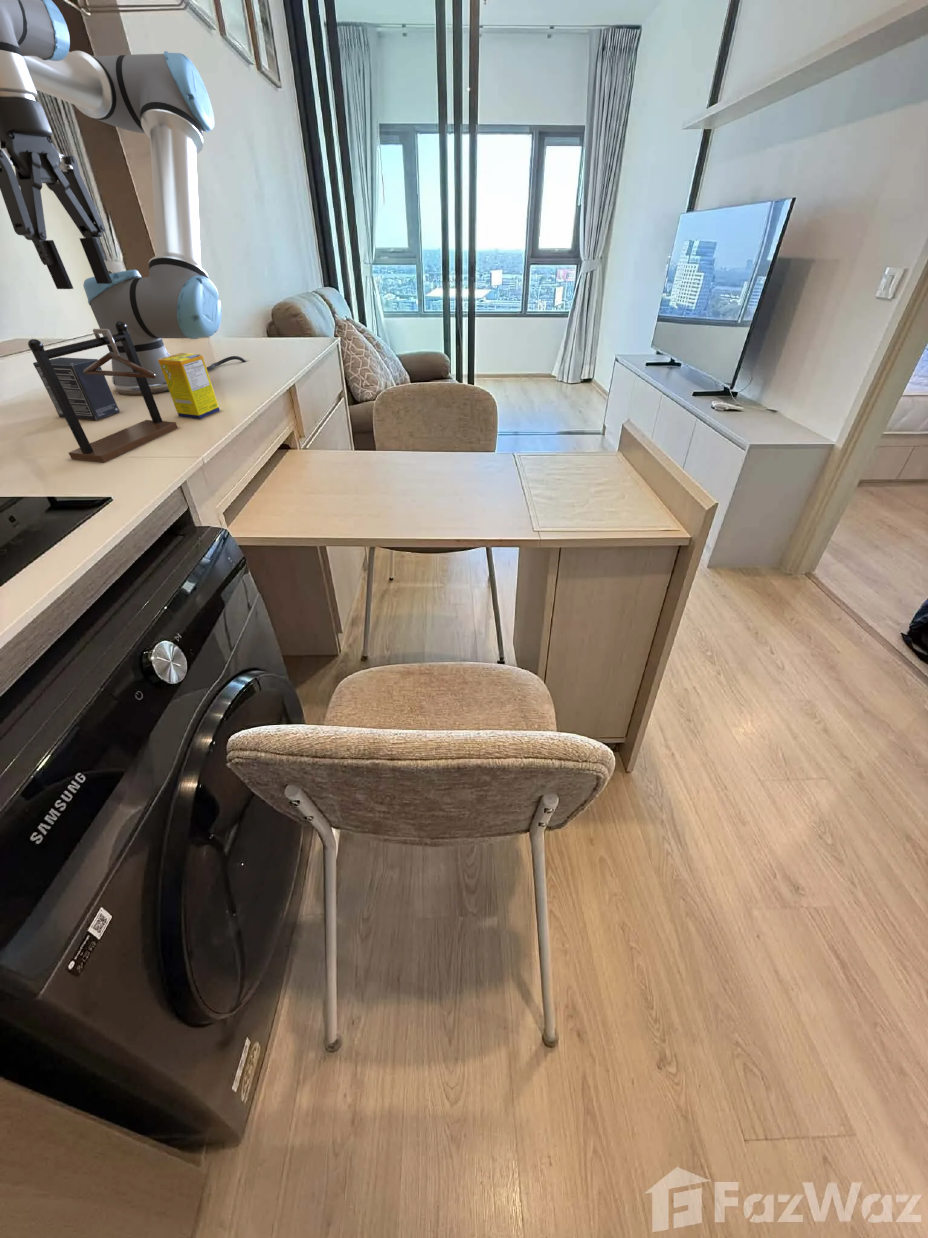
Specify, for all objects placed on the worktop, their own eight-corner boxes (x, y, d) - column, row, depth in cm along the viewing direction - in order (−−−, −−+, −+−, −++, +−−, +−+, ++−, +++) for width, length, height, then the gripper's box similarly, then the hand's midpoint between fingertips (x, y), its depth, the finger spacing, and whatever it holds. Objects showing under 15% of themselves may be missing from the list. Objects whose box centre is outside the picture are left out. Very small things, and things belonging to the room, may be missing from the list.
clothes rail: (149, 425, 101) (106, 319, 89) (178, 428, 99) (139, 320, 88) (71, 459, 87) (9, 339, 76) (103, 462, 85) (45, 340, 74)
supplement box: (199, 408, 109) (180, 352, 102) (220, 411, 107) (203, 353, 100) (177, 416, 105) (156, 358, 98) (200, 419, 103) (180, 360, 96)
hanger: (87, 373, 92) (66, 327, 87) (157, 377, 88) (139, 329, 83) (83, 375, 91) (62, 328, 86) (154, 379, 87) (135, 330, 83)
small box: (122, 411, 108) (99, 357, 102) (97, 421, 103) (71, 365, 97) (85, 408, 111) (60, 355, 104) (58, 417, 106) (30, 362, 100)
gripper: (51, 110, 82) (114, 279, 96) (-86, 87, 67) (14, 292, 81) (88, 106, 80) (147, 279, 95) (-44, 82, 65) (50, 293, 79)
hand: (85, 285), depth 88 cm, fingers open, 8 cm apart
